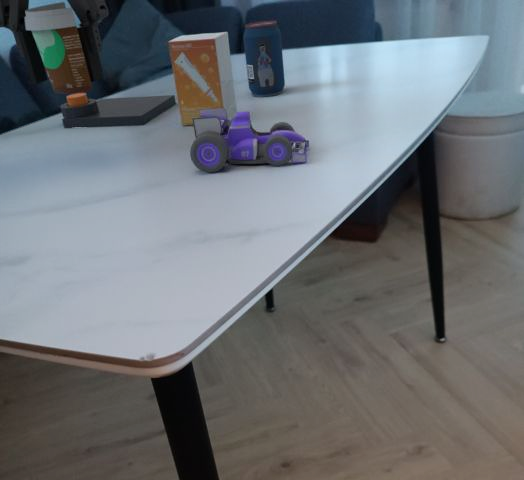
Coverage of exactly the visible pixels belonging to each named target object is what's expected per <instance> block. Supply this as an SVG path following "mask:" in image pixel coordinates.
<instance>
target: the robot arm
mask: <svg viewBox="0 0 524 480" xmlns="http://www.w3.org/2000/svg"><path fill="white" fill-rule="evenodd" d="M66 1H67V3H68V4H69V6H70V7H72V10H73V13H74V14H75V17H77V19H78V21H79V22H80V23H79V24H78V26H79V27H77V30H78V34H79V38H80V42H81V46H82V50H83V54H84V58H85V61H86V65H87V69H88V73H89V77H90V81H91V83H93V82H97V81H98V80H99V81H100V80H101V79H103V78H105V77H104V71H103V66H102V63H101V58H100V52H102V51H103V44H102V39H101V35H100V31H99V23H100V22H101V21H102V20H103V19H106V18H108V17H109V15H110V12H109V9H108V6H107V3H106V0H66ZM29 5H30V0H0V28H4V29H8V30H10V31H11V32H12V34H13V37H14V40H15V41H14V42H15V45H16V47H17V51H18V55H19V56H20V57H21V58H24V60H25V63H26V67H27V70H28V74H29V76H30V77H29V78H30V80H31V85H39V84H41V83H43V82H46V81H48V79H49V78H48V75H47V71H46V69H45V66H44V63H43V60H42V58H41V55H40V52H39V50H38V47H37V44H36V42H35V39H34V36H33V33H32V31H31V30H26V26H25V16H26V13H25V11H26V10H28V9H30V8H29Z"/></svg>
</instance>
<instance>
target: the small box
mask: <svg viewBox="0 0 524 480" xmlns="http://www.w3.org/2000/svg"><path fill="white" fill-rule="evenodd" d="M229 40H230V39H229V32H228V31H222V32H209V33H208V32H207V33H197V34H185V35H184V34H183V35H180V36H177V37H174V38H173V39H171V40H169V41H168V42H167V43H168V48H169V56H170V60H171V67H172V72H173V73H172V74H173V79H174V85H175V92H176V97H177V104H178V109H179V115H180V121H181V122H180V123H181V125H182V126H183V127H184V126H194V125H193V119H192V118H200V109H210V108H224V109H225V110H226V111H227V118H228V120H230V121H231V122H232V120H233V119H234V117H235V115H236V114H237V113H238V110H237V101H236V91H235V84H234V76H233V67H232V59H231V50H230V42H229Z"/></svg>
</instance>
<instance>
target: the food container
mask: <svg viewBox="0 0 524 480" xmlns="http://www.w3.org/2000/svg"><path fill="white" fill-rule="evenodd" d="M25 13H26V16H25V26H26V30H31V31H32V33H33V36H34V39H35V42H36V44H37V47H38V50H39V52H40V55H41V58H42V61H43V65H44V68H45V72H46V75H47V78H48V79H49V82H50V85H51V87H52V91H53V92H54V93H56V94H65V95H66V94H77V93H86V92H92V91H93V85H92V82H91V81H90V77H89V73H88V69H87V65H86V61H85V58H84V54H83V50H82V46H81V42H80V38H79V34H78V30H77V28H78V26H77V25H78V24H77V21H76V18H75V17H76V16H75V15H74V14H75V13H74V11H73V9H72V7H71V6H70V7H67V6H66V3H65V1H62V2H55V3H49V4H44V5H39V6H35V7H32V8H31V7H30V8H28V10H26V11H25Z"/></svg>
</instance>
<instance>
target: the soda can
mask: <svg viewBox="0 0 524 480" xmlns="http://www.w3.org/2000/svg"><path fill="white" fill-rule="evenodd" d="M277 23H278V22H277V20H261V21H255V22H254V21H253V22H250V23H247V24H245V26H244V27H245V29H244V32H243V45H244V47H243V48H244V55H245V63H246V64H245V66H246V74H247V84H248V89H249V91H250V92H251V94H252V96H254V97H259V98H260V97H261V98H264V97H271V96H272V97H273V96H276V95H280V94H281V93H282V92H283V90H284V88H285V85H286V82H285V81H286V80H285V69H284V56H283V45H282V33H281V30H280V28H279V26H278V24H277Z"/></svg>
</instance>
